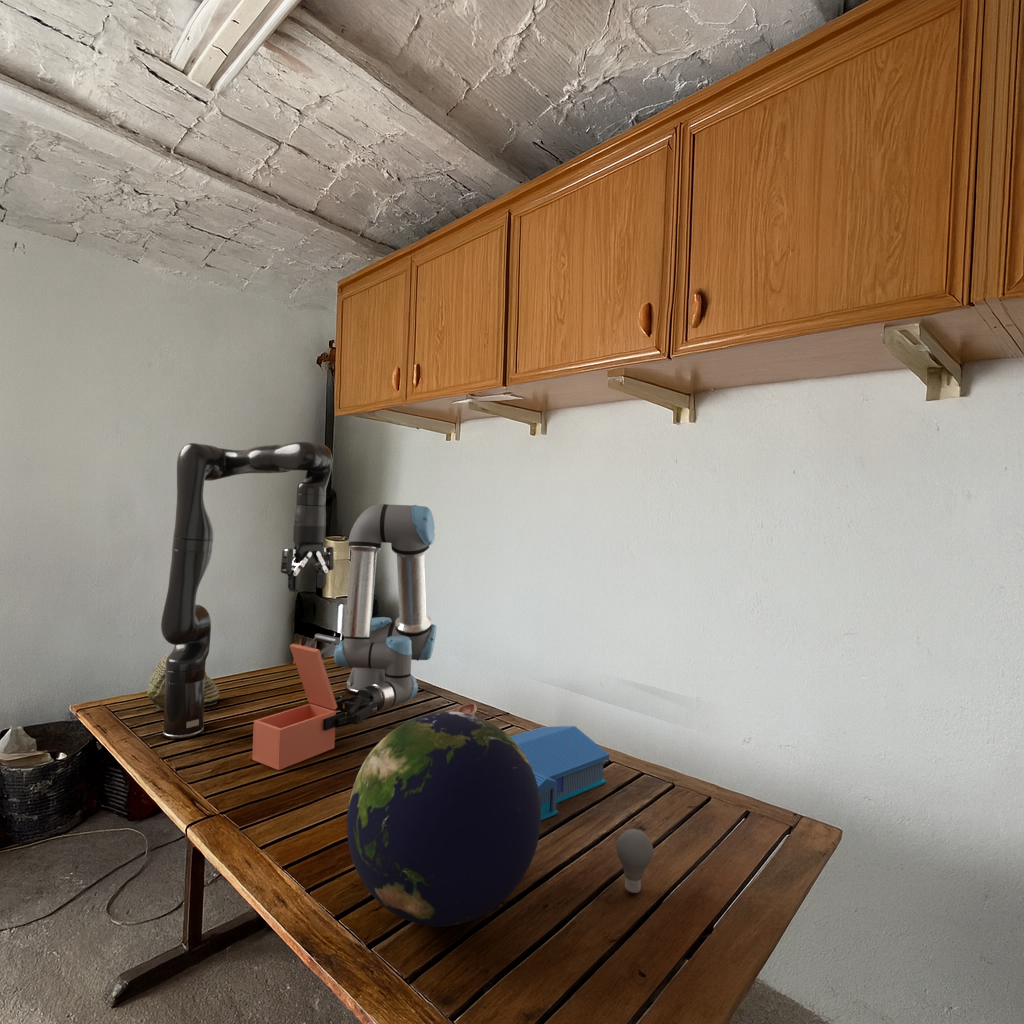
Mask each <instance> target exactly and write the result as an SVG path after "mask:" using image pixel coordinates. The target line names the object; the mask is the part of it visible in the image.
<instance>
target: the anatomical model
mask: <svg viewBox="0 0 1024 1024" xmlns="http://www.w3.org/2000/svg"><path fill="white" fill-rule="evenodd" d="M477 709H478V708H477V705H476V703H473V702H472V703H466V704H463V705H460V706H456V707H454V708H452V709H448V710H445V711H444V712H461V713H466V714H470V715H474V716H475V714H476V713H477Z"/></svg>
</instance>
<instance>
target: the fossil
mask: <svg viewBox="0 0 1024 1024" xmlns="http://www.w3.org/2000/svg"><path fill="white" fill-rule="evenodd" d="M169 655H170V654H165V655H164V656H163V657H162V658H161V659H160V660H159V662H158V663H157V666H156V667H155V669H154V670H153V672H152V675H151V677H150V680H149V684H148V688H147V697H148V699H149V700H150V701H152V703H153V704H154V706H155V711H158V712H159V711H162V712H163V711H164V705H165V674H166V659H167V657H168V656H169ZM220 698H221V696H220V690H219V688H218V686H217V685H216V683H215V682H214V681H213V679H212V678H211V677H209V675H208V674H207V672H206V671H205V693H204V707H207V706H213V705H215V704H217V703H218V701H219V699H220Z"/></svg>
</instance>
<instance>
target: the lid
mask: <svg viewBox="0 0 1024 1024" xmlns="http://www.w3.org/2000/svg"><path fill="white" fill-rule="evenodd" d="M340 641H341V638H340V637H337V636H332V635H328V634H322V633H315V634H314V637H313V639H311V640H310V641H308V642H307V643H306V644H304V645H301V644H298V643H292V644H290V645H289V648H290V651H291V654H292V659H293V660H294V664H295V666H296V669H297V673H298V674H299V678H300V681H301V684H302V687H303V690H304V692H305V696H306V699H307V702H308V703H309V704H311V703H313V704H316V705H319V706H323V707H326V708H329V709H333V710H335V709H336V708H337V704H336V701H335V698H334V696H335V695H334V691H333V688H332V685H331V682H330V680H329V676H328V672H327V669H326V666H325V663H324V660H323V657H322V656H323V654H325V653H326V652H327V651H329V650H330V649H331V648H332V647H334V646H336V645H339V644H340ZM316 642H320V643H324V644H328V645H326V646H325V647H323V648H322V649H321V650H320V649H319V648H315V647H310V646H312V645H313V644H314V643H316Z"/></svg>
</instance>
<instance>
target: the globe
mask: <svg viewBox="0 0 1024 1024" xmlns="http://www.w3.org/2000/svg"><path fill="white" fill-rule="evenodd" d="M347 804H348V805H347V811H346V812H347V813H346V835H347V843H348V848H349V853H350V857H351V860H352V863H353V865H354V868H355V870H356V873H357V874H358V876H359V878H360V880H361V882H362V884H363V885H364V886H365V888H366V889H367V891H368V892H369V894H370V895H371V896H372V897H373V898H374V899H375V900H376V901H377V903H379V904H380V905H382V906H383V907H384V909H386V910H387V911H390V912H391V913H392V914H393V915H395V916H397V917H399V918H400V919H403V920H405V921H408V922H411V923H413V924H418V925H421V926H426V927H437V928H438V927H441V928H443V927H453V926H458V925H463V924H466V923H468V922H472V921H474V920H477V919H479V918H481V917H483V916H485V915H487V914H489V913H490V912H491V911H493V910H494V909H495V908H497V907H499V906H500V905H501V904H502V903H503V902H504V901H505V900H507V899H508V897H510V895H511V894H512V893H513V892H514V891H515V889H516V888H517V887H518V886H519V885H520V883H521V882H522V880H523V879H524V878H525V876H526V874H527V872H528V870H529V868H530V866H531V863H532V861H533V859H534V857H535V854H536V852H537V848H538V844H539V839H540V833H541V826H542V821H541V801H540V794H539V789H538V785H537V782H536V778H535V775H534V773H533V770H532V767H531V765H530V763H529V761H528V760H527V758H526V756H525V755H524V753H523V751H522V750H521V749H520V748H519V746H518V745H517V744H516V743H515V742H514V741H513V740H512V739H511V737H510V735H508V733H506V732H505V731H504V730H503V729H501V728H500V727H499V726H497V725H496V724H494V723H493V722H490V721H488V720H486V719H484V718H482V717H479V716H477V715H475V714H474V715H470V714H466V713H461V712H445V711H439V712H432V713H427V714H424V715H420V716H418V717H415V718H412V719H410V720H408V721H406V722H404V723H403V724H401V725H399V726H397V727H395V728H394V729H393V730H392V731H390V732H389V733H388V734H386V735H385V737H383V738H382V739H381V740H380V741H379V742H378V743H377V744H376V745H375V746H374V747H373V748H372V749H371V751H370V752H369V753H368V755H367V757H366V758H365V759H364V761H363V763H362V765H361V766H360V769H359V770H358V773H357V775H356V777H355V779H354V782H353V786H352V788H351V792H350V795H349V800H348V803H347Z"/></svg>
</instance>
